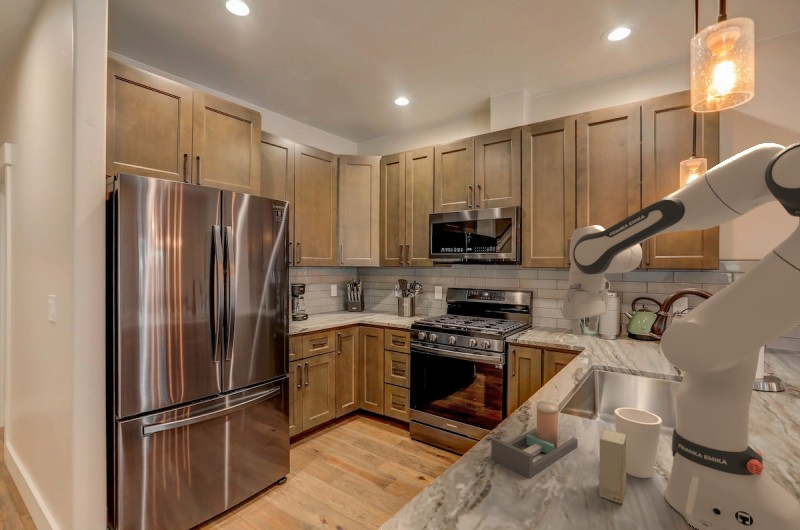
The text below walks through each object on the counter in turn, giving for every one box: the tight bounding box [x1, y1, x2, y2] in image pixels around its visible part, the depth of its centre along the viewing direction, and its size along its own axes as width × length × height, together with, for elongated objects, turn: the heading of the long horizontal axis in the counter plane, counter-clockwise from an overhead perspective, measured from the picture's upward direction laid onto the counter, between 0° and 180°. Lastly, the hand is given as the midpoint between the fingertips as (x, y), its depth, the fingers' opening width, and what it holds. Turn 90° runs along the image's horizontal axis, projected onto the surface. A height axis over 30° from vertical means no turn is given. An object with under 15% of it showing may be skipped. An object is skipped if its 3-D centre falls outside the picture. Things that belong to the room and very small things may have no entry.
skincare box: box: [598, 428, 627, 505], centre depth 78 cm, size 6×4×12 cm
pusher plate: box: [522, 434, 555, 457], centre depth 94 cm, size 7×7×2 cm
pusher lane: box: [490, 427, 579, 479], centre depth 94 cm, size 23×10×5 cm, turn 130°
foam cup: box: [613, 407, 663, 479], centre depth 87 cm, size 10×9×13 cm
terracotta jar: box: [535, 400, 560, 449], centre depth 98 cm, size 5×5×11 cm
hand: (585, 332), depth 104 cm, fingers open, 8 cm apart
